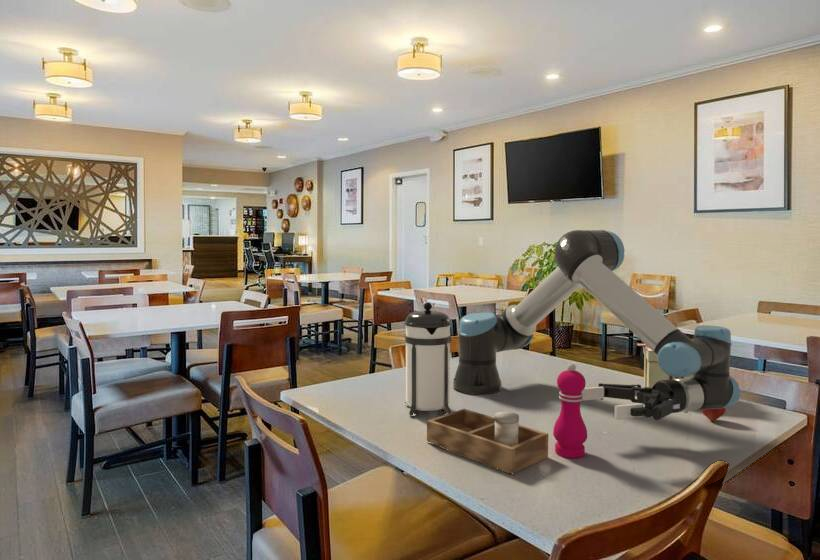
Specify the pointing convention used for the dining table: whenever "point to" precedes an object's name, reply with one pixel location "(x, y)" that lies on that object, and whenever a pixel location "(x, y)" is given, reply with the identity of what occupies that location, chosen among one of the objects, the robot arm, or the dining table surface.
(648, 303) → the robot arm
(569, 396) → the pepper mill
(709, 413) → the onion
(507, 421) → the caddy
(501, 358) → the dining table surface
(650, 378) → the gift box
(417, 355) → the coffee press
